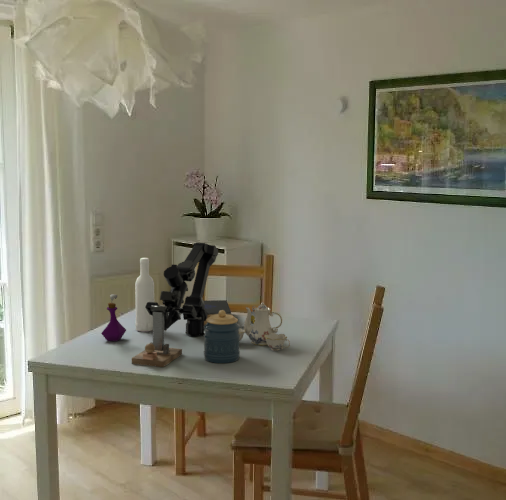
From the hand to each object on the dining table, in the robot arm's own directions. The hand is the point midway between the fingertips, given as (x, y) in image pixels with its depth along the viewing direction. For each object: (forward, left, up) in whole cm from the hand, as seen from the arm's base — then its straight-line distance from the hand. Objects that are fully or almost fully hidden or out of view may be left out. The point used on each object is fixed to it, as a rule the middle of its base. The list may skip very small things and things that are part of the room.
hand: (164, 330), depth 239 cm
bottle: (-5, -37, -9) cm, 38 cm away
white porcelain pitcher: (-44, -18, -9) cm, 48 cm away
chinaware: (-38, +2, -9) cm, 39 cm away
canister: (-17, +13, -9) cm, 23 cm away
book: (-36, -41, -10) cm, 55 cm away
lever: (+3, +3, -7) cm, 8 cm away
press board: (+3, +3, -9) cm, 10 cm away
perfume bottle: (+11, -27, -9) cm, 31 cm away
